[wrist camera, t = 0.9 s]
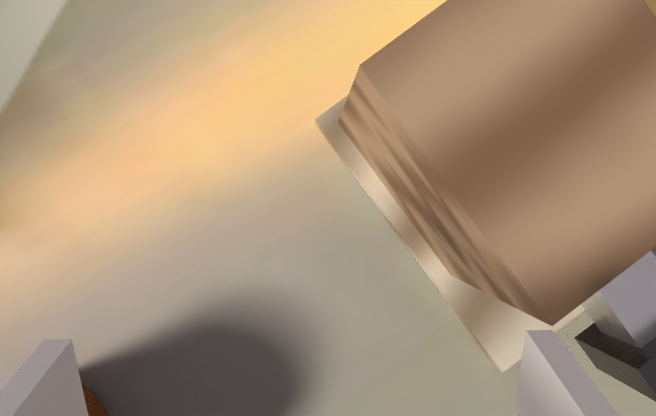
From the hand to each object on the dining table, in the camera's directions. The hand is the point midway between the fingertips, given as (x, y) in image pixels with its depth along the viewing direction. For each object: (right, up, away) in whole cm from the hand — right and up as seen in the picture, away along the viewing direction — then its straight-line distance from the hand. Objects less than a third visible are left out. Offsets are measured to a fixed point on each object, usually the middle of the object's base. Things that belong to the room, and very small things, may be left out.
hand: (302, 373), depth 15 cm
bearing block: (+11, +6, +18) cm, 22 cm away
